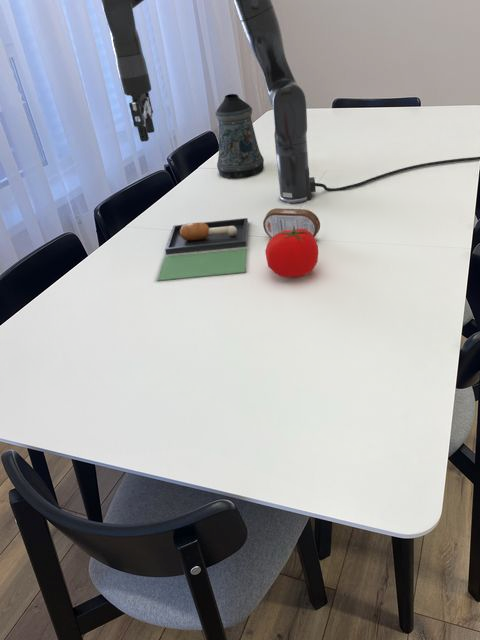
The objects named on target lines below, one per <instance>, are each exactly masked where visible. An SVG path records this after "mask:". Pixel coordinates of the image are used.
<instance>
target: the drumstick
mask: <svg viewBox="0 0 480 640" xmlns="http://www.w3.org/2000/svg"><path fill="white" fill-rule="evenodd" d="M182 225H183V226H182V227H181V229H180V235H181V237H182V238H183V239H184V240H187V241H192V240H202V239H205V238H207V237H208V236H210V235H220V234H228V235H230V236H234V235H236V233H237V229H236V227H235V226H225V227H215V228H209V227H208V225H207V224H205V223H204V222H192V223H191V222H190V223H185V225H184V224H182Z"/></svg>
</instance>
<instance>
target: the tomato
mask: <svg viewBox="0 0 480 640" xmlns="http://www.w3.org/2000/svg"><path fill="white" fill-rule="evenodd" d="M265 258H266V263H267V267H268V268H269V269H270V270H271V271H272V272H273V273H274V274H276V275H277V276H279V277H283V278H299V277H305V276H306V275H308V274H310V273H311V272H312V271H313V270H314V268H315V267H316V265H317V263H318V260H319V245H318V243H317V240H316V236H315V237H314V236H313V235H312V233H311V232H309V231H307V230H305V229H296V230H295V226H294V228H293V231H290V230H284V231H282V232H280V233H278V234H276V235H274V236H273V237H272V238H271V237H270V239H269V240H268V242H267V244H266V248H265Z"/></svg>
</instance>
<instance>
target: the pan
mask: <svg viewBox="0 0 480 640" xmlns="http://www.w3.org/2000/svg"><path fill="white" fill-rule="evenodd" d="M203 223H205V224H207V225H208V227H209V228H215V227H225V226H235V227H236V229H237V233H236V235H234V236H230V235H228V234H220V235H210V236H208V237H207V238H205V239H202V240H192V241H187V240H184V239H183V238H182V237H181V235H180V229H181V227H182V226H183V225H185V224H186V223H185V224H175V225H172V228H171V230H170V234H169V237H168V240H167V242H166V246H165V249H164V251H165V255H167V256H168V255H176V254H177V255H178V254H187V253H197V252H207V251H218V250H229V249H236V248H237V249H239V248H247V246H248V245H247V244H248V231H249V218H248V217H245V218H234V219H224V220H223V219H222V220H215V221H213V220H212V221H206V222H203Z"/></svg>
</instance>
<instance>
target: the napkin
mask: <svg viewBox="0 0 480 640" xmlns="http://www.w3.org/2000/svg"><path fill="white" fill-rule="evenodd" d="M247 254H248V248H247V247H245V248H237V249H236V248H235V249H225V250H215V251H208V252H207V251H205V252H198V253H197V252H195V253H188V254H187V253H184V254H177V255H176V254H174V255H167V256H164V259H163V261H162V265H161V267H160V270H159V273H158V277H157V282H161V281H163V282H164V281H173V280H182V279H194V278H204V277H215V276H224V275H226V276H227V275H235V274H244V273H245V274H246V272H247V271H246V270H247Z"/></svg>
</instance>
